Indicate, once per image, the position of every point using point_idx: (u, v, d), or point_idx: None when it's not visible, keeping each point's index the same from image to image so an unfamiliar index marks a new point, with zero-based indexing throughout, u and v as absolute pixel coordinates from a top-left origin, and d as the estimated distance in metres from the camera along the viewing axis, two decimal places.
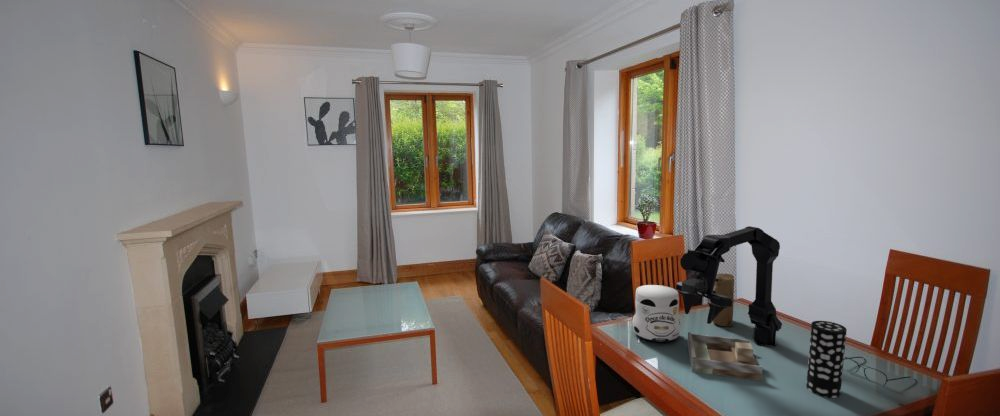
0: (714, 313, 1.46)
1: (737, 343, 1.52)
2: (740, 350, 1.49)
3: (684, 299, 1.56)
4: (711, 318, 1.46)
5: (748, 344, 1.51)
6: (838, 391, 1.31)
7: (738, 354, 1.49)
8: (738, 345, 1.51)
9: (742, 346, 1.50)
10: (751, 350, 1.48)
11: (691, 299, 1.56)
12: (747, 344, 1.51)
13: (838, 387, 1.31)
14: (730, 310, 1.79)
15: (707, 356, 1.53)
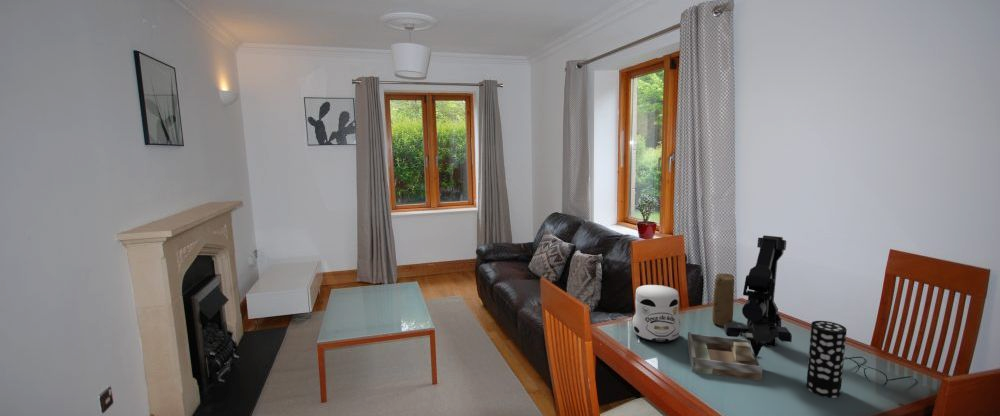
0: None
1: (735, 343, 1.52)
2: (738, 350, 1.49)
3: (753, 344, 1.48)
4: None
5: (746, 343, 1.51)
6: (838, 391, 1.31)
7: (736, 354, 1.49)
8: (736, 345, 1.51)
9: (740, 346, 1.50)
10: (749, 349, 1.48)
11: None
12: (745, 343, 1.51)
13: (838, 387, 1.31)
14: (730, 310, 1.79)
15: (707, 356, 1.53)
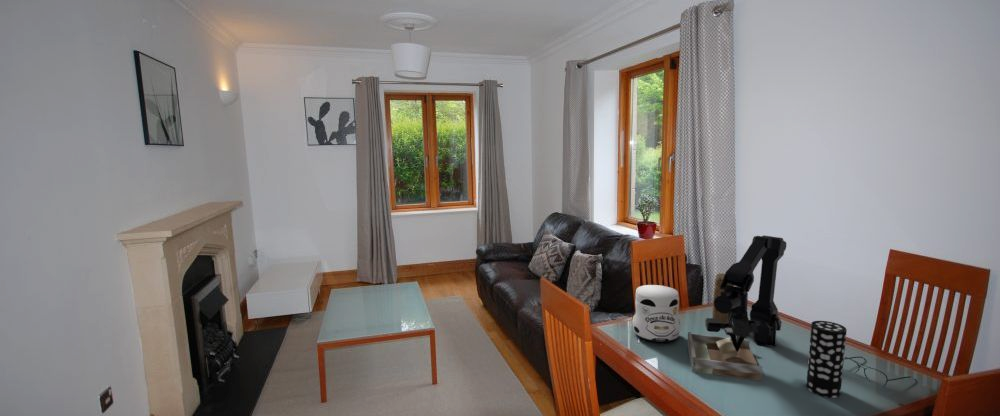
0: None
1: (718, 342, 1.54)
2: (722, 349, 1.50)
3: (733, 339, 1.50)
4: None
5: (727, 339, 1.53)
6: (838, 391, 1.31)
7: (722, 353, 1.50)
8: (719, 344, 1.52)
9: (722, 344, 1.51)
10: (731, 344, 1.49)
11: None
12: (726, 339, 1.53)
13: (838, 387, 1.31)
14: None
15: (707, 356, 1.53)
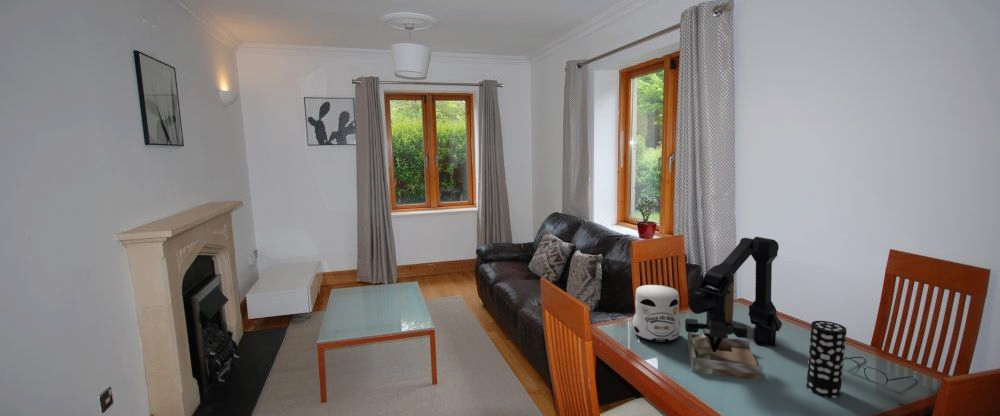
0: None
1: (693, 338, 1.57)
2: (696, 344, 1.54)
3: (711, 339, 1.52)
4: None
5: (703, 335, 1.56)
6: (838, 391, 1.31)
7: (697, 349, 1.54)
8: (694, 340, 1.55)
9: (697, 340, 1.54)
10: (705, 340, 1.52)
11: None
12: (702, 335, 1.56)
13: (838, 387, 1.31)
14: (730, 310, 1.79)
15: (707, 356, 1.53)
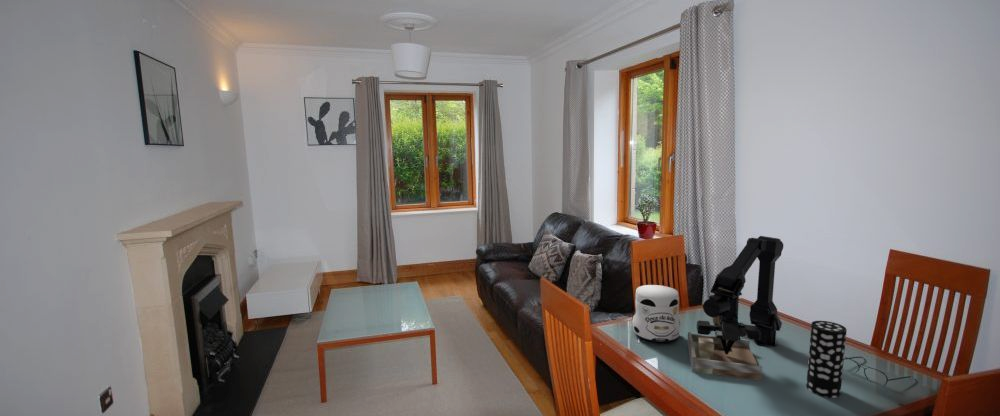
0: None
1: (700, 338, 1.56)
2: (702, 345, 1.53)
3: (723, 342, 1.51)
4: None
5: (710, 339, 1.55)
6: (838, 391, 1.31)
7: (700, 349, 1.53)
8: (700, 340, 1.55)
9: (704, 341, 1.54)
10: (712, 345, 1.52)
11: None
12: (709, 339, 1.55)
13: (838, 387, 1.31)
14: None
15: (707, 356, 1.53)
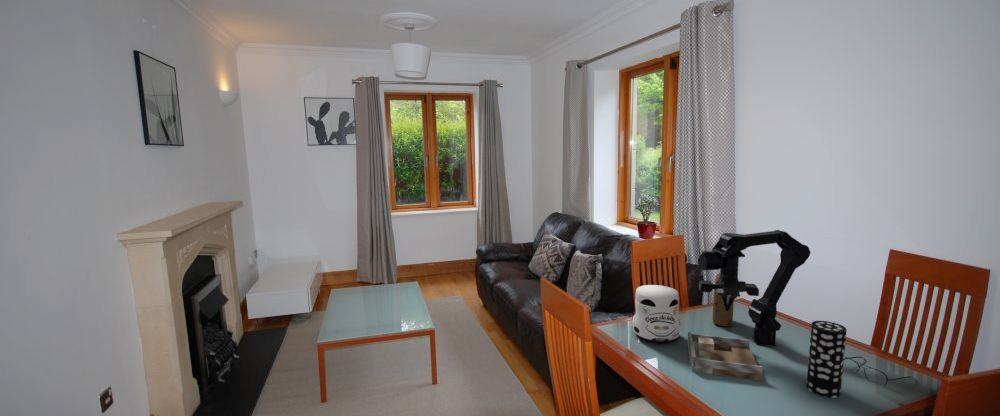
0: None
1: (700, 338, 1.56)
2: (702, 345, 1.53)
3: (724, 299, 1.62)
4: None
5: (710, 339, 1.55)
6: (838, 391, 1.31)
7: (700, 349, 1.53)
8: (700, 340, 1.55)
9: (704, 341, 1.54)
10: (712, 345, 1.52)
11: None
12: (709, 339, 1.55)
13: (838, 387, 1.31)
14: (730, 310, 1.79)
15: (707, 356, 1.53)
